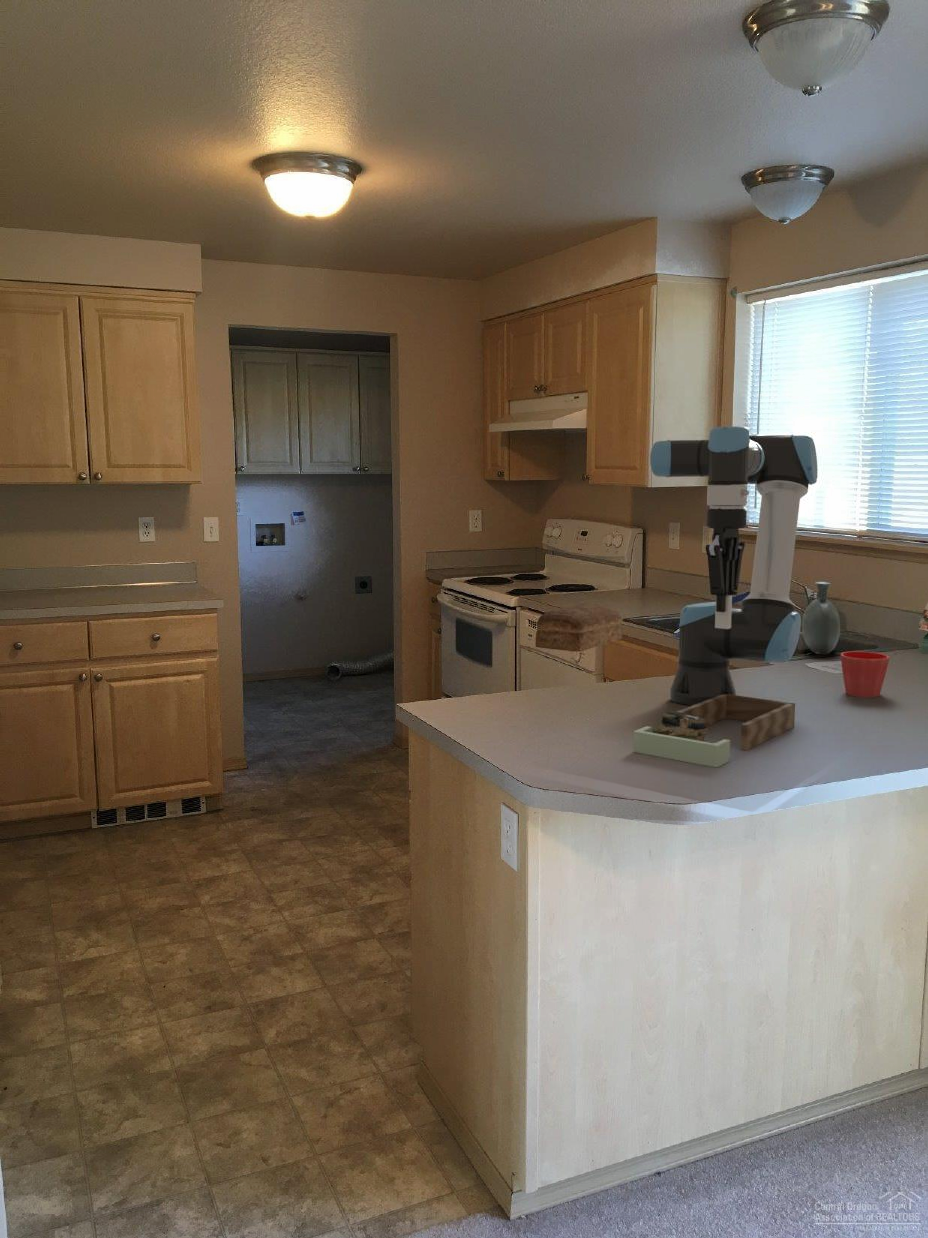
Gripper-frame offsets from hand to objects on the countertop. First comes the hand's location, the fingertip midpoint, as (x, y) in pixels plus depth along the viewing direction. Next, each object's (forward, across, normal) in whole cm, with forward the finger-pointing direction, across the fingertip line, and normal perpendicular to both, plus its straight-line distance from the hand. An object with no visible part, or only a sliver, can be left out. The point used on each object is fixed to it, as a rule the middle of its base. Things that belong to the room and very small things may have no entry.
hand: (722, 627), depth 198 cm
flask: (+24, +111, +20) cm, 116 cm away
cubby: (+23, +8, 0) cm, 24 cm away
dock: (+22, -18, 0) cm, 29 cm away
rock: (+23, -14, +4) cm, 27 cm away
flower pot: (+23, +63, -8) cm, 67 cm away
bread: (+24, +80, +85) cm, 120 cm away
